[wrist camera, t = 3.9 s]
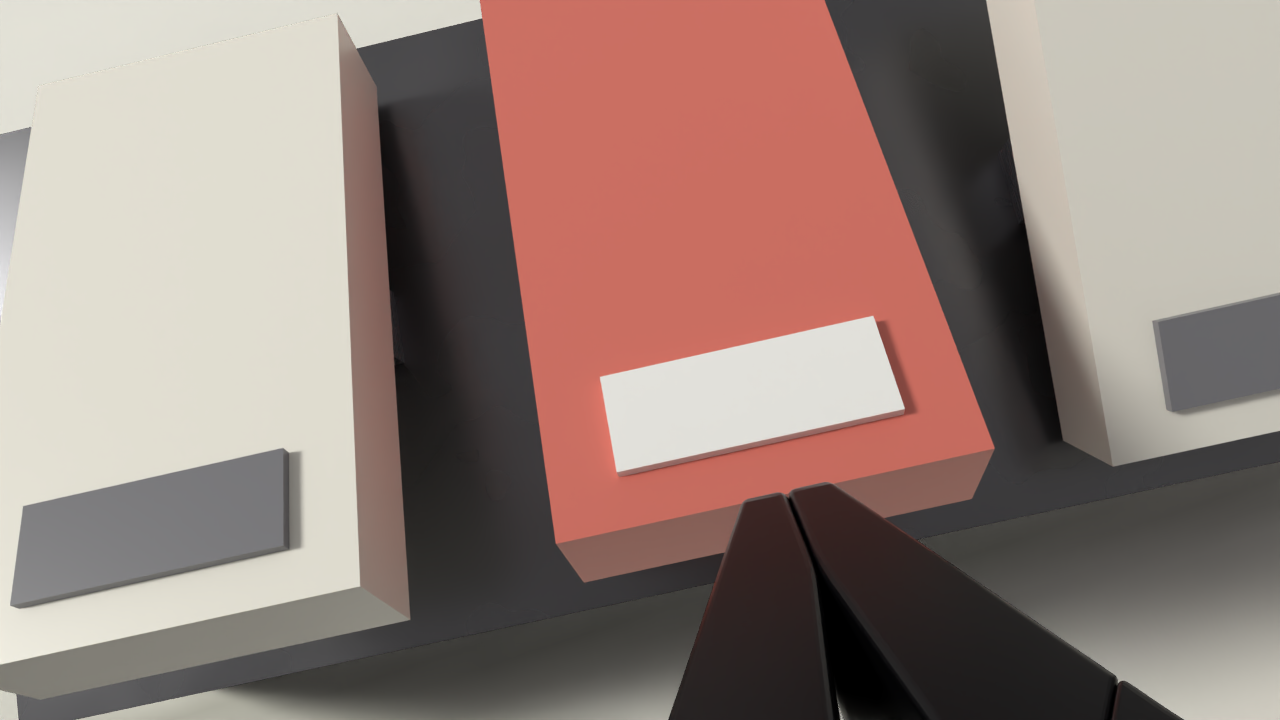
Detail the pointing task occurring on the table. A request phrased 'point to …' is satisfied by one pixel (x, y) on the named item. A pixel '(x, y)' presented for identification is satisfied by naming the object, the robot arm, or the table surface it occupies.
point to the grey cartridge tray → (500, 362)
